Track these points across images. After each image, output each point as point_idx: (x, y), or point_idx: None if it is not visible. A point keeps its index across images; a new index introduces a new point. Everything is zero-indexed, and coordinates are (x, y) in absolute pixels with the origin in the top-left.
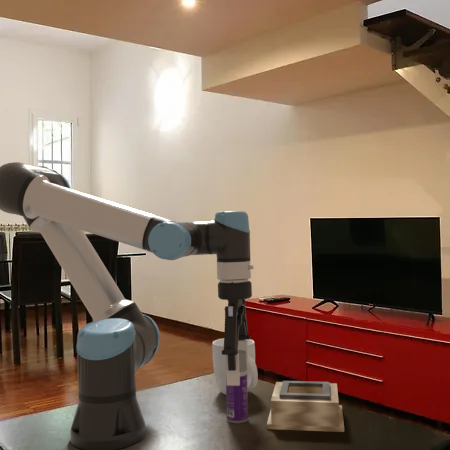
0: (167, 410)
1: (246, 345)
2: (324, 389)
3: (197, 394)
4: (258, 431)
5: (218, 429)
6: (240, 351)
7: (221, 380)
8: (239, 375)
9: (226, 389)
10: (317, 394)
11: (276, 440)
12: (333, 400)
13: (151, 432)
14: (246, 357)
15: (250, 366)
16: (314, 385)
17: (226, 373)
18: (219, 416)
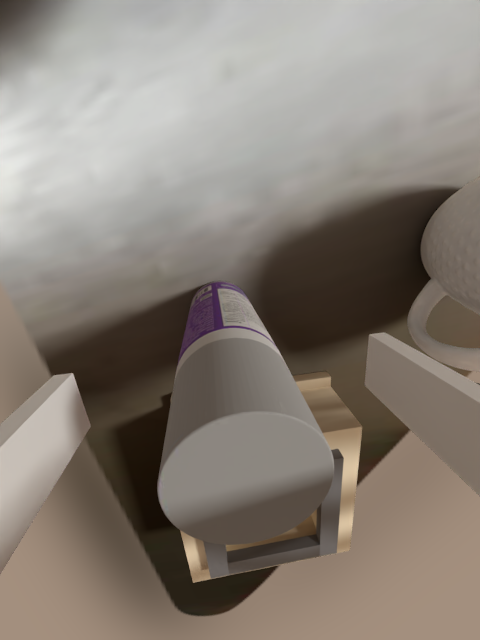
0: (262, 18)
1: (473, 487)
2: (266, 558)
3: (449, 100)
4: (150, 379)
5: (130, 279)
6: (271, 508)
7: (465, 202)
8: (64, 463)
9: (205, 310)
10: (217, 556)
11: (109, 425)
12: (208, 572)
13: (11, 34)
14: (403, 418)
15: (465, 353)
16: (318, 523)
17: (7, 418)
18: (235, 251)
